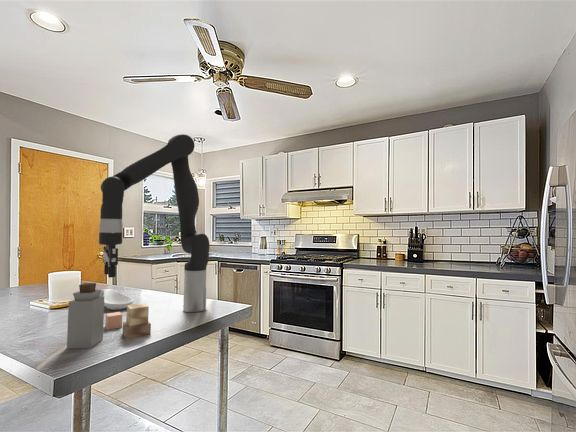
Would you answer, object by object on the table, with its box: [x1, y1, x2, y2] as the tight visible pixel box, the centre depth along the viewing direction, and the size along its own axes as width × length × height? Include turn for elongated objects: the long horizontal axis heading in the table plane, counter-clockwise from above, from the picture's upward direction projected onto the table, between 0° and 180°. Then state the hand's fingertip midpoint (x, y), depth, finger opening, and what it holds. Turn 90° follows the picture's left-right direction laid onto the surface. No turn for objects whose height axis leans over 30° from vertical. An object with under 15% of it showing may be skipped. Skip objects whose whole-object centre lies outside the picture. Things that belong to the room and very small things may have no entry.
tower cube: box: [125, 302, 150, 326], centre depth 103 cm, size 6×6×6 cm
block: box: [105, 311, 123, 330], centre depth 111 cm, size 4×4×4 cm
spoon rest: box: [99, 288, 135, 311], centre depth 139 cm, size 24×12×7 cm, turn 55°
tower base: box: [122, 320, 152, 340], centre depth 103 cm, size 7×7×4 cm
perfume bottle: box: [66, 282, 105, 349], centre depth 94 cm, size 7×7×18 cm
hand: (109, 275), depth 113 cm, fingers open, 8 cm apart
